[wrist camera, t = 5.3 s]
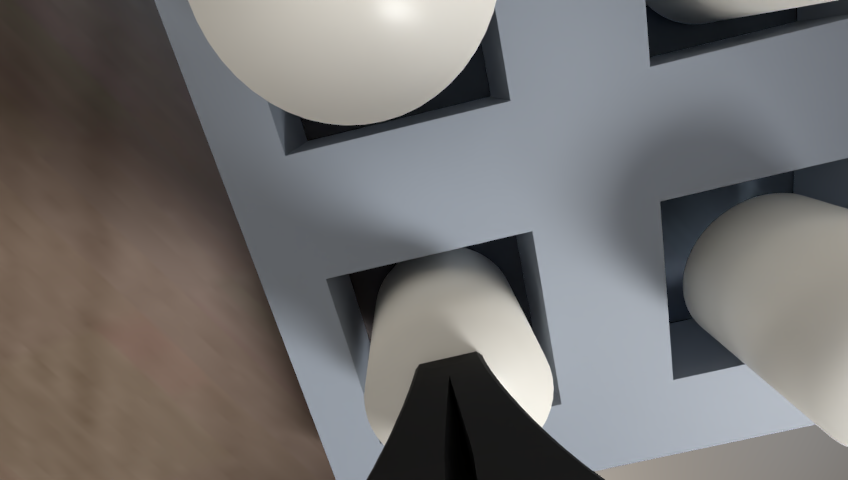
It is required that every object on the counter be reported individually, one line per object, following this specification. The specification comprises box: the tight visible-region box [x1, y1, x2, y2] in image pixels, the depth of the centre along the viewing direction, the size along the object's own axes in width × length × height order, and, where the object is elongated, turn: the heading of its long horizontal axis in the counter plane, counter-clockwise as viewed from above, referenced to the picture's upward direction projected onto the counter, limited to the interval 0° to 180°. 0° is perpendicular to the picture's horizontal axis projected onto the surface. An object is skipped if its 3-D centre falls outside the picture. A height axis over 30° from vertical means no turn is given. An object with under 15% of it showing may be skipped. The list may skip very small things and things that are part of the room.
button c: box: [364, 247, 554, 446], centre depth 12 cm, size 4×4×4 cm
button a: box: [683, 193, 848, 447], centre depth 10 cm, size 4×4×4 cm
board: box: [154, 0, 848, 480], centre depth 12 cm, size 16×18×2 cm
